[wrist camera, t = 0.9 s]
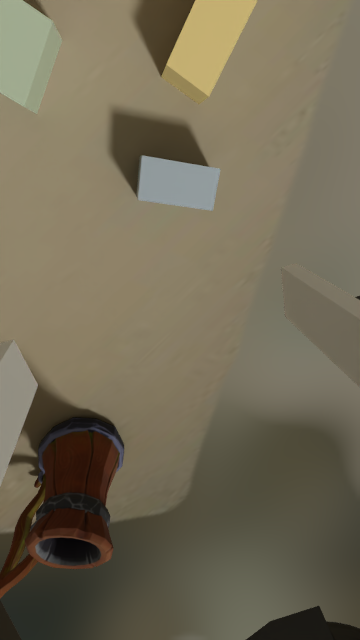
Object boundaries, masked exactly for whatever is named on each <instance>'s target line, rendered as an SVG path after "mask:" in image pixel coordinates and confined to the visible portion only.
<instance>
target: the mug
mask: <svg viewBox="0 0 360 640" xmlns="http://www.w3.org/2000/svg"><path fill="white" fill-rule="evenodd" d="M38 455H39V468H40V469H41V470H42V471H41V472H40V473H39V474H38V478H37V480H36V482H35V484H34V487H36V488H38V487H39V486H40V485H41V487H40V489H39V491H38V494H37V495H36V496H35V497H34V498H33V500H32V501H31V502H30V503H29V505H28V506H27V507H26V508H25V510H24V511H23V513H22V514H21V515H20V518H19V520H18V522H17V525H16V527H15V532H14V537H13V541H12V545H11V548H10V552H9V554H8V556H7V559H6V561H5V564H4V566H3V568H2V571H1V573H0V598H1V597H2V596H3V595H4V594H5V593H6V592H7V591H8V590H9V589H10V588H12V587H13V586H14V585H16V584H17V583H18V582H19V581H20V580H21V579H23V578H24V577H25V576H26V575H27V574H28V572H29V571H30V570H31V569H32V568H33V567H34V566H35V565H36V563H37V562H40V563H43V564H44V565H48V566H51V567H54V568H68V569H84V568H93V567H94V566H96V567H97V566H99V565H101V564H103V563H105V562H106V561H108V560H110V559H111V555H112V552H113V545H112V543H111V538H110V535H109V530H108V528H109V523H110V515H109V512H108V510H107V508H106V507H105V505H106V499H107V493H108V490H109V487H110V485H111V482H112V480H113V478H114V476H115V473H116V472H117V471H118V470H119V469H120V468H121V467H122V464H123V455H124V444H123V441H122V439H121V437H120V435H119V434H118V432H117V430H116V428H115V427H114V426H111V425H109V424H107V423H104V422H102V421H100V420H97V419H90V418H72V419H70V420H68V421H66V422H63V423H61V424H59V425H57V426H55V427H53V429H52V430H51V431H50V432H49V433H48V434H47V435H46V436H45V437H44V439H43V440H42V441H41V443H40V445H39V449H38ZM43 500H44V502H43ZM42 502H43V504H42V505H41V503H42ZM40 505H41V506H40ZM39 506H40V508H39ZM38 508H39V509H38ZM35 513H36V520H37V521H36V522H35V523H34V524H33V525H32V526H31V524H32V519H33V517H34V515H35ZM30 529H31V531H30ZM25 546H26V547H27V550H28V553H29V555H28V556H27V557H26V558H25V559H24V560H23V561H22V562H21V563H19V564H18V562H19V560H20V558H21V556H22V553H23V551H24V548H25ZM17 564H18V565H17Z"/></svg>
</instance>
